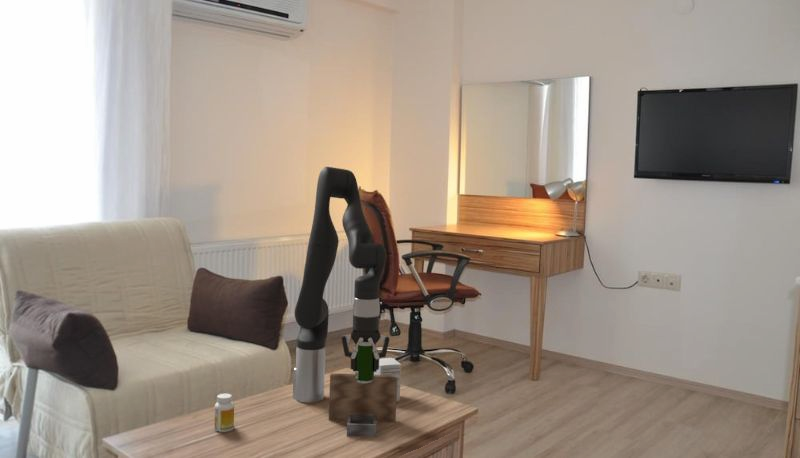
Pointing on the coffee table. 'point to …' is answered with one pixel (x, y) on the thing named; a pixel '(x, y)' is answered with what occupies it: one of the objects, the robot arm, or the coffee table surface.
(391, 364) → the supplement box
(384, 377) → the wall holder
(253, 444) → the coffee table surface
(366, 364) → the beer can
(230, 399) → the supplement bottle
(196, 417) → the coffee table surface
